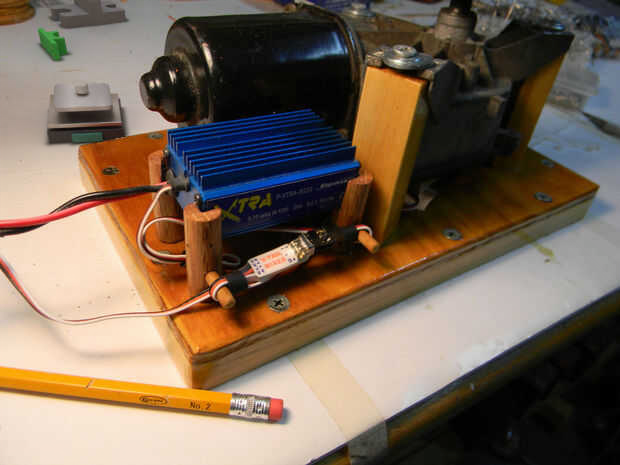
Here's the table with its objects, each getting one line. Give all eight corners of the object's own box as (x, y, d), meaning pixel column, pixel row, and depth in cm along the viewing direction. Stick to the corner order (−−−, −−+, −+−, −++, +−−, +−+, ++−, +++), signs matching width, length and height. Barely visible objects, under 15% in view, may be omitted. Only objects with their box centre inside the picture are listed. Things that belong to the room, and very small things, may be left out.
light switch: (114, 118, 89) (111, 93, 86) (56, 121, 86) (50, 95, 83) (110, 95, 96) (107, 71, 93) (56, 97, 92) (51, 72, 89)
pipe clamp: (72, 61, 116) (68, 42, 113) (56, 63, 114) (52, 44, 111) (57, 44, 122) (53, 26, 119) (41, 46, 120) (37, 27, 117)
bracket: (51, 19, 134) (42, -23, 127) (111, 13, 145) (106, -26, 138) (66, 30, 130) (58, -13, 123) (127, 22, 140) (123, -17, 133)
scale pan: (48, 128, 85) (47, 124, 85) (51, 97, 94) (50, 94, 93) (121, 125, 89) (121, 122, 89) (118, 96, 98) (117, 93, 97)
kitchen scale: (50, 147, 87) (46, 130, 84) (53, 112, 96) (49, 97, 94) (125, 143, 91) (123, 127, 89) (121, 110, 100) (119, 95, 98)
